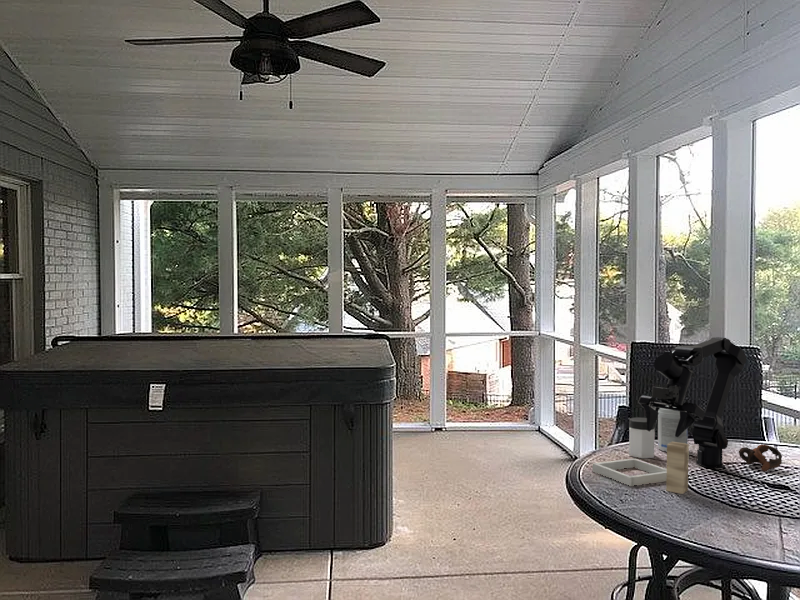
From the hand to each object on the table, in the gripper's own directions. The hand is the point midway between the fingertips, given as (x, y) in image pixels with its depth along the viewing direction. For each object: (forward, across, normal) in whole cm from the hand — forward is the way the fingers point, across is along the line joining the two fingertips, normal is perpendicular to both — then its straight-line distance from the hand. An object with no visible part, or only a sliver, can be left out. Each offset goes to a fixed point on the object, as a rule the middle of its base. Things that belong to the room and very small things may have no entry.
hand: (662, 433), depth 204 cm
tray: (+14, -7, +2) cm, 16 cm away
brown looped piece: (-5, +10, +39) cm, 40 cm away
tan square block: (+15, +9, 0) cm, 18 cm away
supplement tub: (-4, -18, +36) cm, 41 cm away
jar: (+3, -20, +23) cm, 31 cm away
